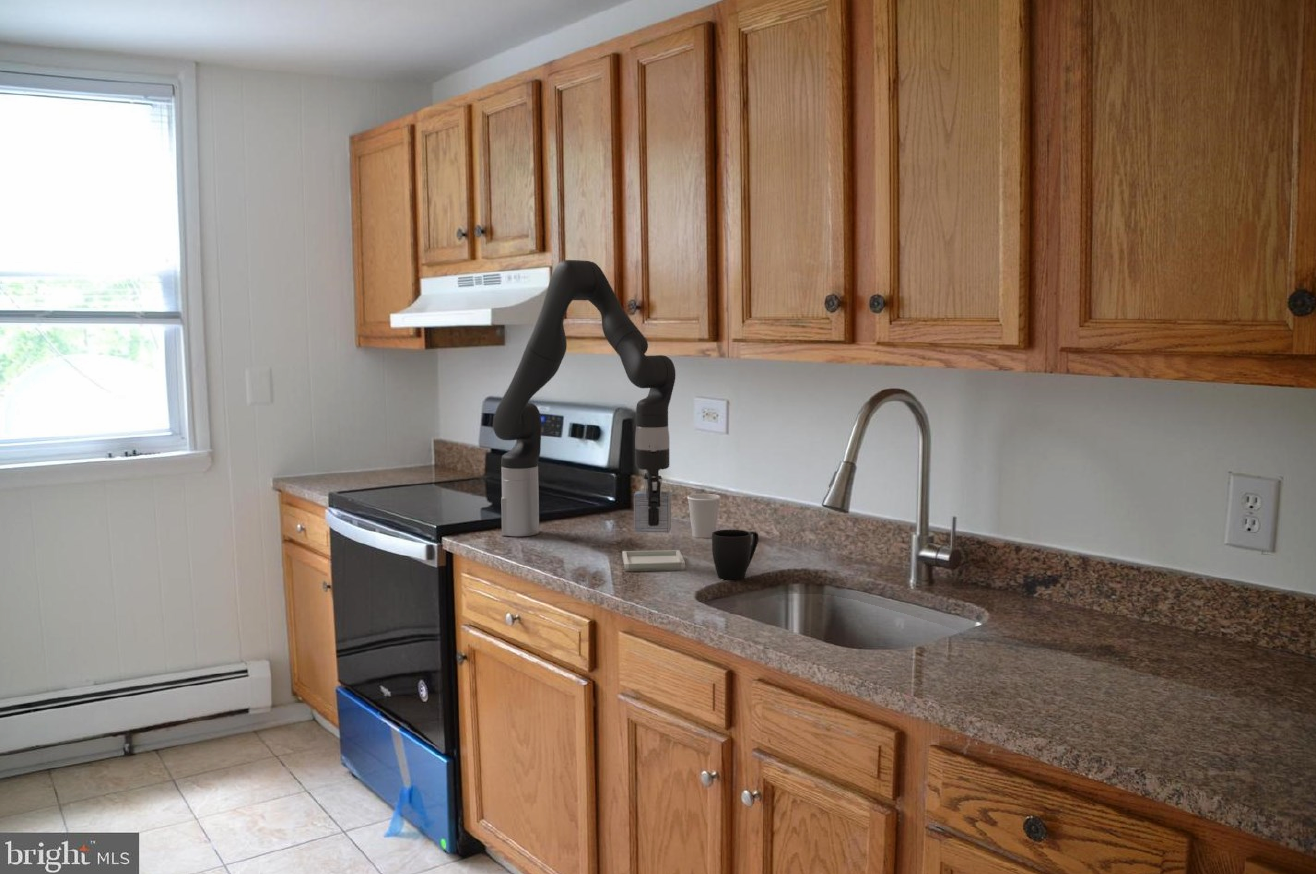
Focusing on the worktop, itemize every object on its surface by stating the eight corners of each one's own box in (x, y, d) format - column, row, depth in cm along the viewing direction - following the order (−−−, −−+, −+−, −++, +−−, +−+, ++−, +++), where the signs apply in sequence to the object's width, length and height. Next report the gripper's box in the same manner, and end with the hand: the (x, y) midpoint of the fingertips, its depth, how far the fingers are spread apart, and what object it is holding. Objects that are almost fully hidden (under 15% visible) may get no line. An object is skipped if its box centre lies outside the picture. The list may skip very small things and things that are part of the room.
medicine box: (671, 529, 237) (671, 491, 236) (669, 533, 232) (669, 494, 232) (636, 529, 238) (635, 490, 237) (633, 532, 233) (633, 493, 232)
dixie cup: (710, 540, 261) (710, 500, 260) (681, 536, 265) (681, 497, 264) (726, 534, 268) (726, 495, 267) (697, 531, 272) (697, 492, 271)
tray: (625, 571, 229) (625, 564, 229) (622, 558, 242) (622, 551, 242) (685, 570, 230) (685, 562, 230) (679, 556, 243) (679, 550, 243)
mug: (771, 575, 225) (771, 531, 224) (731, 584, 217) (731, 538, 216) (743, 568, 231) (743, 525, 230) (703, 577, 223) (703, 532, 222)
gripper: (633, 443, 240) (633, 517, 242) (637, 450, 226) (637, 529, 227) (666, 442, 240) (666, 516, 242) (672, 450, 226) (672, 529, 228)
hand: (652, 522), depth 235 cm, fingers closed on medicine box, 5 cm apart
